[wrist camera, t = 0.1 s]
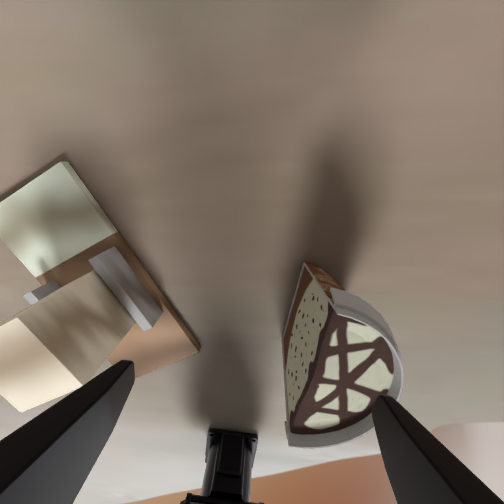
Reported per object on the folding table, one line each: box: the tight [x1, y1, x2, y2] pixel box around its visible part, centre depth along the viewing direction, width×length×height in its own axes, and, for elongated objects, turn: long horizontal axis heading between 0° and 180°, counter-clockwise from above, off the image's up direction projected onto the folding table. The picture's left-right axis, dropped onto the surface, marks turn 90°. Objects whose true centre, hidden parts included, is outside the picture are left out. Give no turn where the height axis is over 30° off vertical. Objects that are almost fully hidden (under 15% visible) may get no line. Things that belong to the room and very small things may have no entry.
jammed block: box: [0, 269, 136, 412], centre depth 20 cm, size 6×6×9 cm
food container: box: [282, 262, 403, 448], centre depth 20 cm, size 12×6×10 cm, turn 169°
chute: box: [0, 161, 201, 378], centre depth 23 cm, size 22×10×3 cm, turn 28°
